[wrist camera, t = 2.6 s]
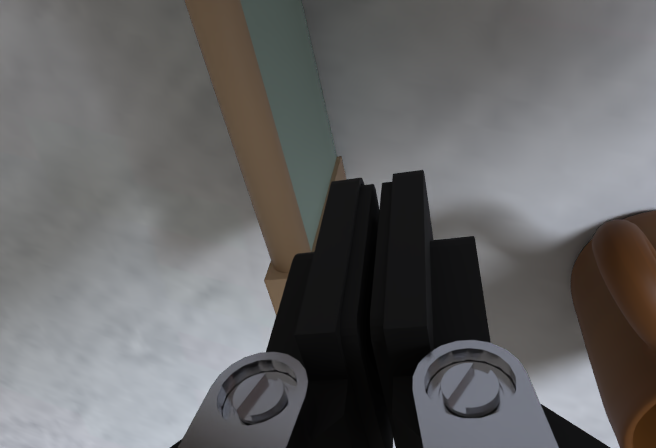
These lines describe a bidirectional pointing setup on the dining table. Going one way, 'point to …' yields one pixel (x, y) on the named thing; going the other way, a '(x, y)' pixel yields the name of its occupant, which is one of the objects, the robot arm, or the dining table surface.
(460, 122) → the dining table surface
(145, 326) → the dining table surface
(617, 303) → the mug
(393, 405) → the robot arm
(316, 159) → the gate
